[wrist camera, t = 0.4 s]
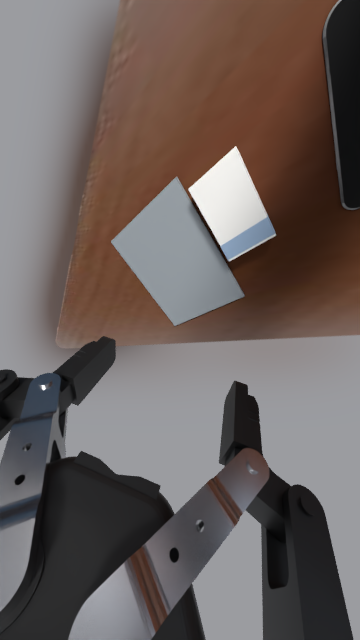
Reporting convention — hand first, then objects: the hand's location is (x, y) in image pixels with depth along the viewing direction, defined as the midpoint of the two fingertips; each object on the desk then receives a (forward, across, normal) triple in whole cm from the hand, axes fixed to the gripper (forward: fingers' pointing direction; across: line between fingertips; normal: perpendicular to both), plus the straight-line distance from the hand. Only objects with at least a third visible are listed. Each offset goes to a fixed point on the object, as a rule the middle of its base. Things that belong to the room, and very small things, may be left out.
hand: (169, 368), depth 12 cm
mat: (+20, +6, 0) cm, 21 cm away
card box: (+20, -1, -9) cm, 22 cm away
